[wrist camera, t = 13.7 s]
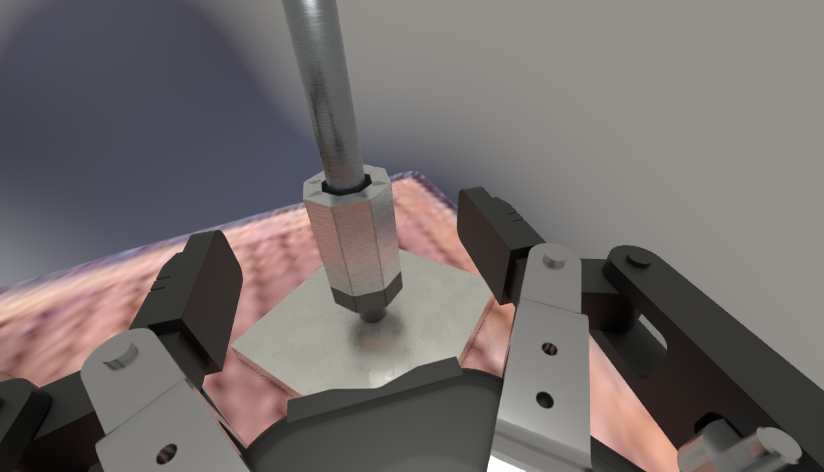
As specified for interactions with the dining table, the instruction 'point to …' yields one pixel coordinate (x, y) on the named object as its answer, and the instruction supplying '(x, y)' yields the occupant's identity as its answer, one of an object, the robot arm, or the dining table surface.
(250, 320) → the dining table surface
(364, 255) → the metal sleeve
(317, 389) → the pipe stand
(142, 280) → the dining table surface
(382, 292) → the black hex nut
